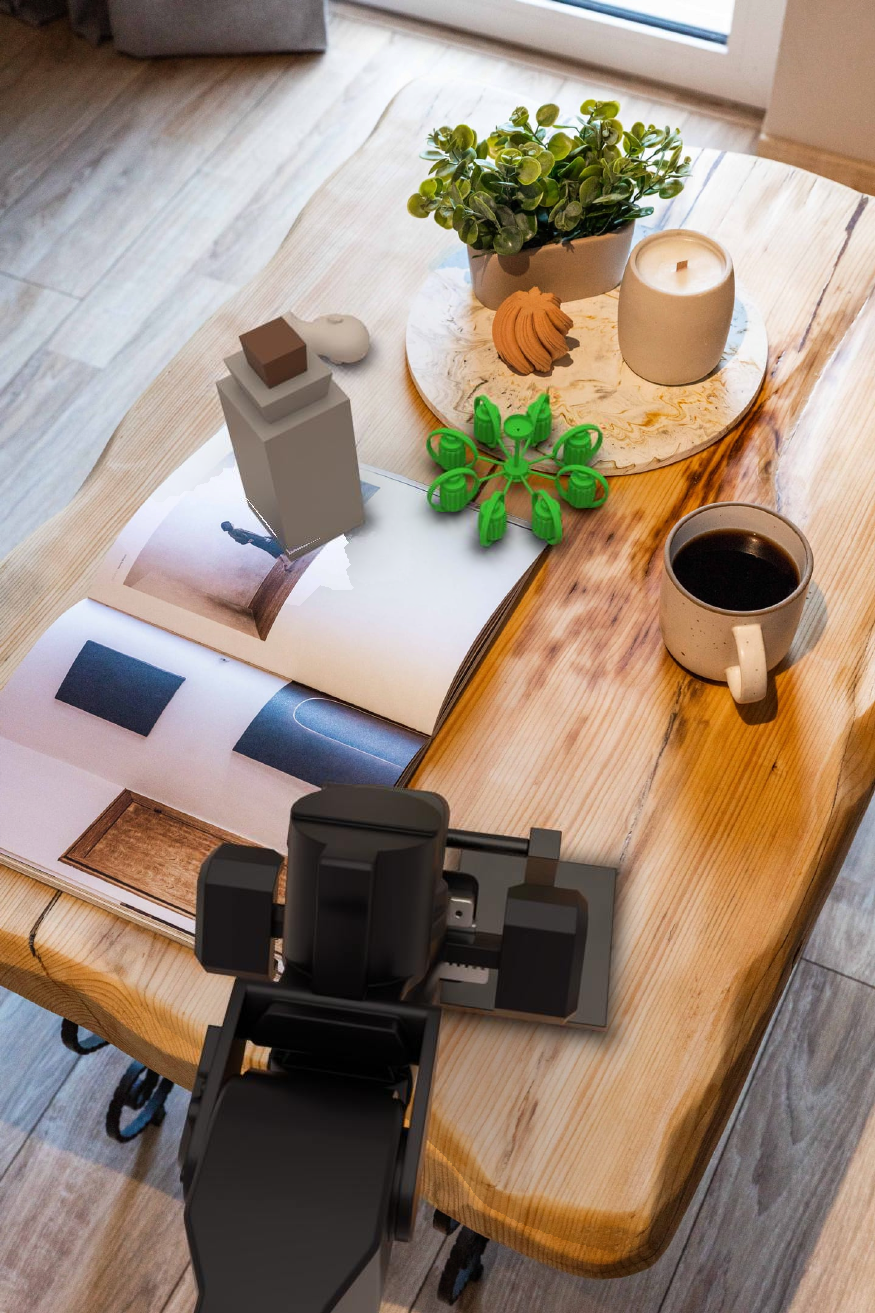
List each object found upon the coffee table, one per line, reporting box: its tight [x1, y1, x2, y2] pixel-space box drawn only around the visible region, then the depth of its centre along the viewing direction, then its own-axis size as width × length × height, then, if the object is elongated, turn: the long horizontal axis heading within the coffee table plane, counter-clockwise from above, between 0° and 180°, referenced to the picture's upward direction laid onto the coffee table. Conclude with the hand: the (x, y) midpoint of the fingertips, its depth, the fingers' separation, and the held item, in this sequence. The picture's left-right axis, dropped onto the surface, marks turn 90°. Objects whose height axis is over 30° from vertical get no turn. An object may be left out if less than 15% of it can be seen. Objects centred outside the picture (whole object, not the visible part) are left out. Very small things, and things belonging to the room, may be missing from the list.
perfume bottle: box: [215, 315, 366, 563], centre depth 80 cm, size 7×7×18 cm
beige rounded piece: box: [281, 311, 371, 365], centre depth 96 cm, size 4×8×5 cm
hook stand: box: [438, 826, 618, 1033], centre depth 63 cm, size 10×18×16 cm, turn 82°
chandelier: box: [425, 392, 610, 548], centre depth 86 cm, size 15×15×7 cm
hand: (413, 862), depth 62 cm, fingers closed
